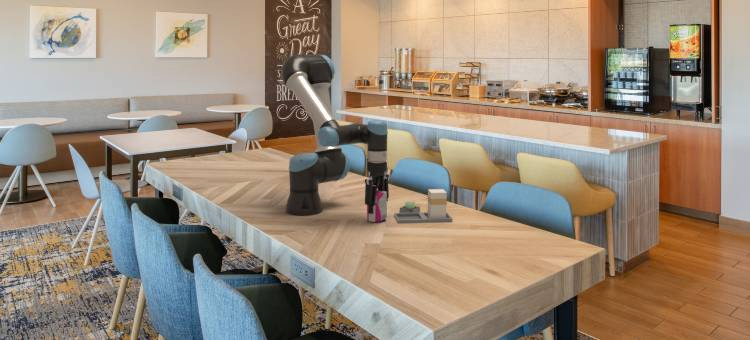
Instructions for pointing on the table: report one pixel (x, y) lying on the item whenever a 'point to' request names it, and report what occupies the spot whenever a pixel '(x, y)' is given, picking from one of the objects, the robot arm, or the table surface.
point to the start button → (409, 205)
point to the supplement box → (380, 206)
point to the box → (437, 203)
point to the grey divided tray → (419, 218)
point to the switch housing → (409, 210)
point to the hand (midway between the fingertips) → (376, 219)
